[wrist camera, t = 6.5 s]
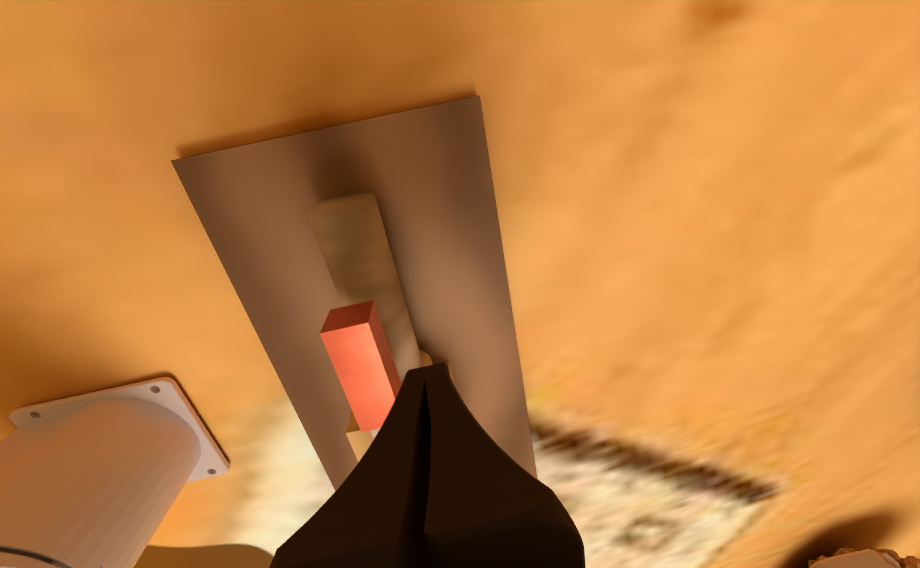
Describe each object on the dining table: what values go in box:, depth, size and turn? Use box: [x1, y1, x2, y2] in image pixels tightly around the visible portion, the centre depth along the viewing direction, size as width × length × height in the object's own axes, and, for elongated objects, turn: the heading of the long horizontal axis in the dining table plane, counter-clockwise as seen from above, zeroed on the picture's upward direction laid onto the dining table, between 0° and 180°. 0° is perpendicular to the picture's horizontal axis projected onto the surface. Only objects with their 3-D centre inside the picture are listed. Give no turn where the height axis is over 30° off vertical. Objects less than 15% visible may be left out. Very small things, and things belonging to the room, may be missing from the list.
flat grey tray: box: [171, 96, 537, 491], centre depth 23 cm, size 14×34×5 cm, turn 11°
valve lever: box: [320, 300, 402, 438], centre depth 17 cm, size 11×2×2 cm, turn 11°
